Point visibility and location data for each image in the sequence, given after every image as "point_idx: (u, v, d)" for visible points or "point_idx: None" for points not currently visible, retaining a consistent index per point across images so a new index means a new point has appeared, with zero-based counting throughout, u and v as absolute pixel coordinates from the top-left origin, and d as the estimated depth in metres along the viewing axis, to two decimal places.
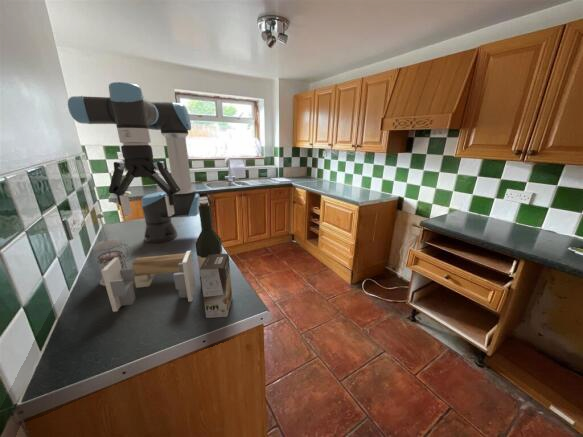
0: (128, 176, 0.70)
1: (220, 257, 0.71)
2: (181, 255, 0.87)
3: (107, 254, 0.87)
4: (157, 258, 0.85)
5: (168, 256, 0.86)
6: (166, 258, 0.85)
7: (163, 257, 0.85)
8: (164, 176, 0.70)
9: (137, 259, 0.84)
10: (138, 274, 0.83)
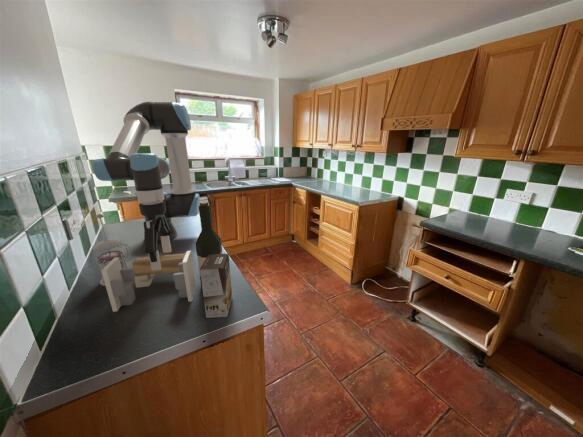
0: None
1: (220, 257, 0.71)
2: (181, 255, 0.87)
3: (107, 254, 0.87)
4: None
5: (168, 256, 0.86)
6: (166, 258, 0.85)
7: (163, 257, 0.85)
8: None
9: (137, 259, 0.84)
10: (138, 274, 0.83)
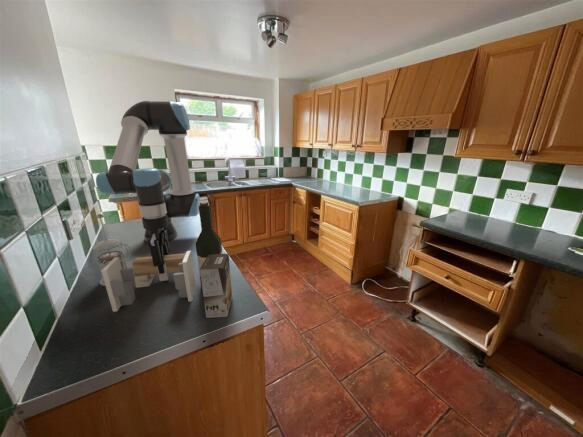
0: None
1: (220, 257, 0.71)
2: (181, 255, 0.87)
3: (107, 254, 0.87)
4: None
5: (168, 256, 0.86)
6: (166, 258, 0.85)
7: None
8: None
9: (137, 259, 0.84)
10: (138, 274, 0.83)
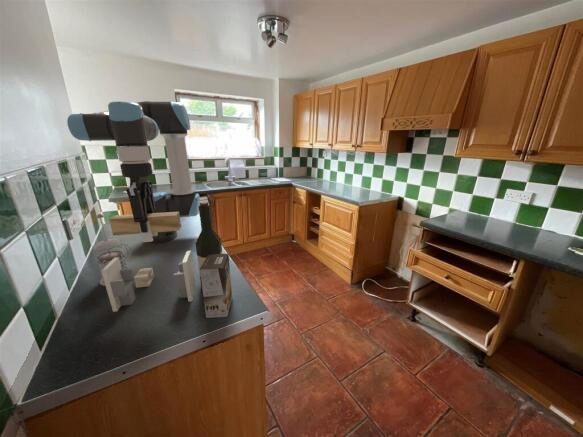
0: None
1: (220, 257, 0.71)
2: (168, 213, 0.75)
3: (107, 254, 0.87)
4: None
5: (153, 214, 0.74)
6: (150, 215, 0.72)
7: (147, 215, 0.73)
8: None
9: (116, 216, 0.72)
10: (117, 233, 0.71)
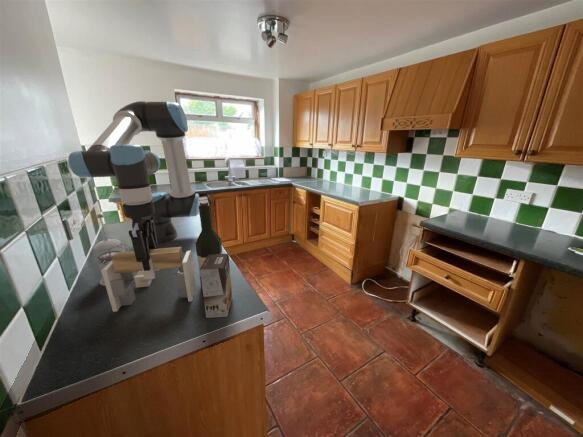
0: None
1: (220, 257, 0.71)
2: (170, 249, 0.74)
3: (107, 254, 0.87)
4: None
5: (155, 250, 0.74)
6: (152, 252, 0.72)
7: (149, 251, 0.73)
8: None
9: (118, 254, 0.71)
10: (119, 271, 0.70)
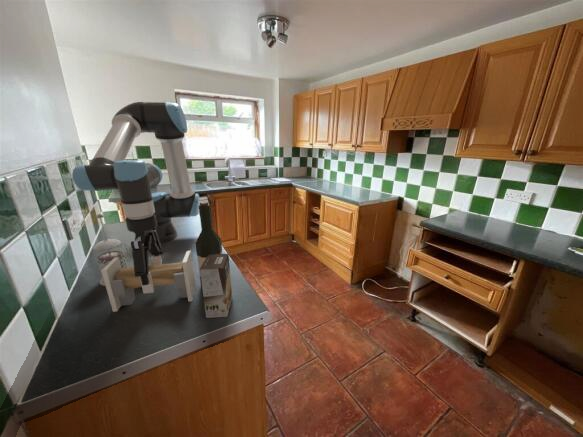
0: None
1: (220, 257, 0.71)
2: (173, 265, 0.76)
3: (107, 254, 0.87)
4: None
5: (158, 266, 0.75)
6: (156, 269, 0.74)
7: (153, 267, 0.75)
8: None
9: (122, 270, 0.73)
10: None
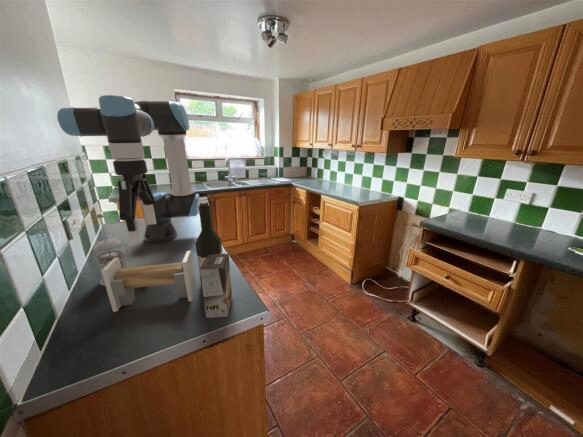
0: None
1: (220, 257, 0.71)
2: (173, 265, 0.76)
3: (107, 254, 0.87)
4: (146, 269, 0.74)
5: (158, 266, 0.75)
6: (156, 269, 0.74)
7: (153, 267, 0.75)
8: None
9: (122, 270, 0.73)
10: None
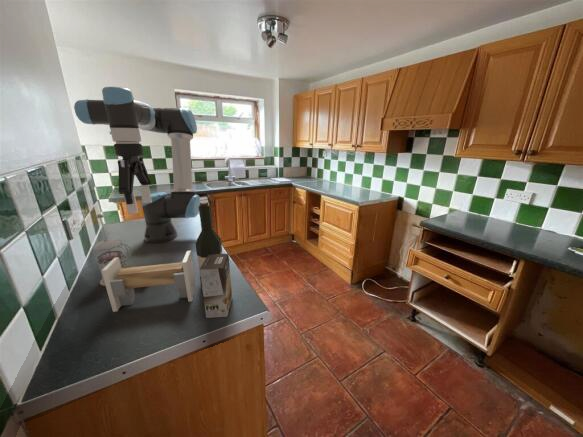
0: None
1: (220, 257, 0.71)
2: (173, 265, 0.76)
3: (107, 254, 0.87)
4: (146, 269, 0.74)
5: (158, 266, 0.75)
6: (156, 269, 0.74)
7: (153, 267, 0.75)
8: None
9: (122, 270, 0.73)
10: None
